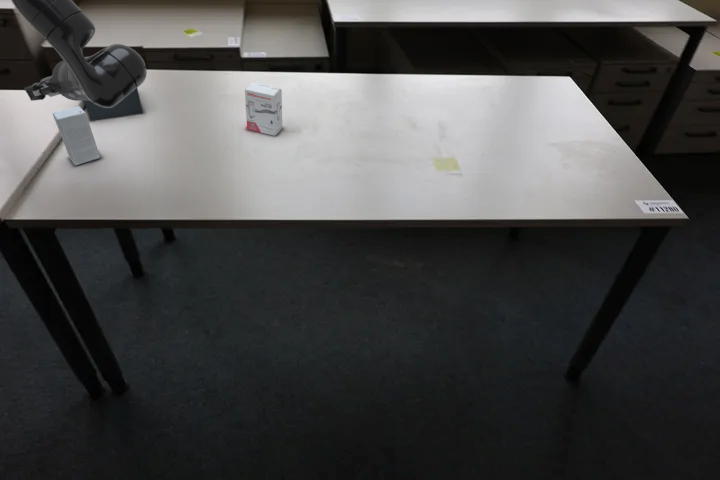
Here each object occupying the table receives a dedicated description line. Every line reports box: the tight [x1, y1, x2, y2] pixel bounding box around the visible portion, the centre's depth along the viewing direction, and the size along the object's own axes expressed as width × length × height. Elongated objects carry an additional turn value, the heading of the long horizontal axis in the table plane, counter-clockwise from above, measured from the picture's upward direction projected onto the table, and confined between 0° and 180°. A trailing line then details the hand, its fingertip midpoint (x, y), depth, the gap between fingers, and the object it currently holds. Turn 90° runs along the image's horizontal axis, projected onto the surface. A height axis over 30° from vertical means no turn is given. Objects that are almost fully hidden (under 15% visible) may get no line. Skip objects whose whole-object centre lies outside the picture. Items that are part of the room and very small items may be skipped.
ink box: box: [244, 81, 283, 137], centre depth 136 cm, size 9×5×12 cm, turn 73°
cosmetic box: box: [52, 105, 101, 166], centre depth 119 cm, size 6×4×12 cm
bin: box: [84, 88, 143, 122], centre depth 140 cm, size 13×13×8 cm
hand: (56, 81), depth 105 cm, fingers open, 8 cm apart
